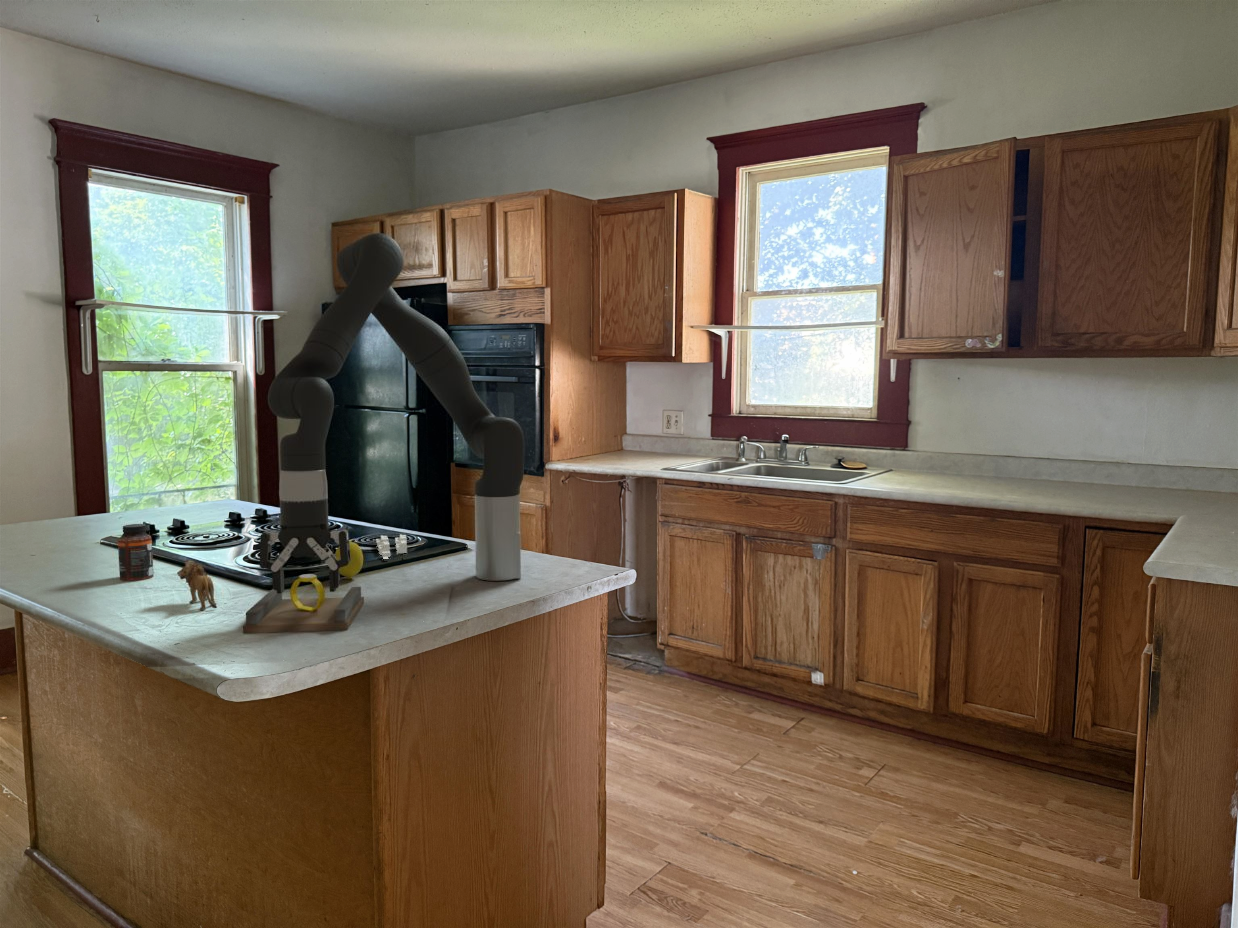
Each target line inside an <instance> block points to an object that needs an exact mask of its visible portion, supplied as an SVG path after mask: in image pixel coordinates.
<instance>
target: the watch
mask: <svg viewBox="0 0 1238 928" xmlns="http://www.w3.org/2000/svg"><path fill="white" fill-rule="evenodd" d="M301 582H304V583H305V582H306V583H309V582H310V583H312V584H313V585H314V587H315V589H316V591H317V595H318V597H317V598H318V599H319V600H318V602H317V605H316V606H315V607H314V608H312V607H307V606H303V605H302V604H301V603H300V601H299V600H298V599H299V597H298V587H299V585H300V583H301ZM289 595H290V597H289V598H290V599H291V600H292V603H293V604H294V606H295V607H296V608H297V609H300V610H306V611H311V612H313V611H315V610H317V609H319V608H320V607H321V606H322V605H323V602H324V600H325V598H326V593H325V588H324V586H323V584H322V582H321V581H320V580H318V578H317V575H316V574H311V573H307V574H301V575H299V576H298V579H296V580H294V581H293V583H292V585H291V586H290V591H289Z"/></svg>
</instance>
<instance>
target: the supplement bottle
mask: <svg viewBox="0 0 1238 928" xmlns="http://www.w3.org/2000/svg"><path fill="white" fill-rule="evenodd" d="M146 526H147V525H146V524H145V523H132V524H130V523H129V524H126V525H125V524H124V525H123V526H122V535H121V536H120V537H119V538H118V539H117V550H118V553H117V555H118V566H119V567H118V571H119V580H120V581H121V582H140V581H145V580H150V579H152V578H153V577H154V561H153V560H154V559H153V556H154V555H153V540H152V535H150V534H148V533H147V527H146Z"/></svg>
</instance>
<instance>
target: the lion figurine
mask: <svg viewBox="0 0 1238 928" xmlns="http://www.w3.org/2000/svg"><path fill="white" fill-rule="evenodd" d="M176 574H177V575H178V577H179V579H180V580H185V583H187V585H188V587H189V588H190V589H189V590H190V595H191V600H190V601H189V604H195V603H197V601H198V599H199V602H200V607H199V610H200V611H205V610H206V608H207V607H206V602H207V601H208V604H209V605H210V606H211V607H212V608H213V609H217V608H218V606H217V603H216V602H215V598H214V594H215V588H214V587H215V586H214V583H213V580H212V578H211V577H210V576H208V574H207V572H206V570H205V569H204V567H203V566H202V565H200V563H198V562H196V561H193V560H189V561H185V562H184V566H183V567H182V568H181V569H180V570H179V571H177V572H176Z"/></svg>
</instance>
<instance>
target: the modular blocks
mask: <svg viewBox="0 0 1238 928" xmlns="http://www.w3.org/2000/svg"><path fill="white" fill-rule="evenodd" d="M375 541H376V542H375V544H376V543H377V546H376V548H377V547H378V549H377V550H378V551H379V552H378V555H379V554H380V555H382V556H381V558H382V557H383V559H389V558H388V557H390V556H391V549H390V542H389V538H388V535H380V538H376V539H375ZM394 541H395V543H396V545H395V549H396V550H397V551H396V555H397V554H398V553H407V554H408V544H407V541H408V540H407V535H406V534H399V537H395V538H394ZM395 543H394V544H395ZM380 555H379V556H380ZM383 559H382V560H383ZM389 560H390V559H389Z"/></svg>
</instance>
